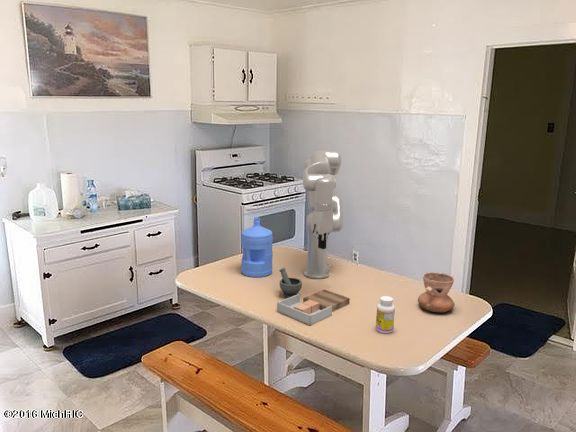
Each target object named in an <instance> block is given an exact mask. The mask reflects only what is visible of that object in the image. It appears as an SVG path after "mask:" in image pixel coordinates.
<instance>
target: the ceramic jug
mask: <svg viewBox="0 0 576 432" xmlns="http://www.w3.org/2000/svg"><path fill="white" fill-rule="evenodd" d="M422 280H423V281H422V282H423V284H424V288H425V291H424V292H423V293H421V294H419V296H418V297H417V302H418V303H417V304H419V306H420V307H421V308H422V309H424V310H426V311H429V312H432V313H446V312H450V311H451V310H452V309H453V308H454V305H455V303H454V302H455V301H454V300H453V298H451V296H450V295H448V293H449V292H450V290H451V288H452V287H453V285H454V282H455V278H454V277H453V276H452V275H450V274H448V273H446V272H440V271H429V272H425V273H423V275H422Z"/></svg>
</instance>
